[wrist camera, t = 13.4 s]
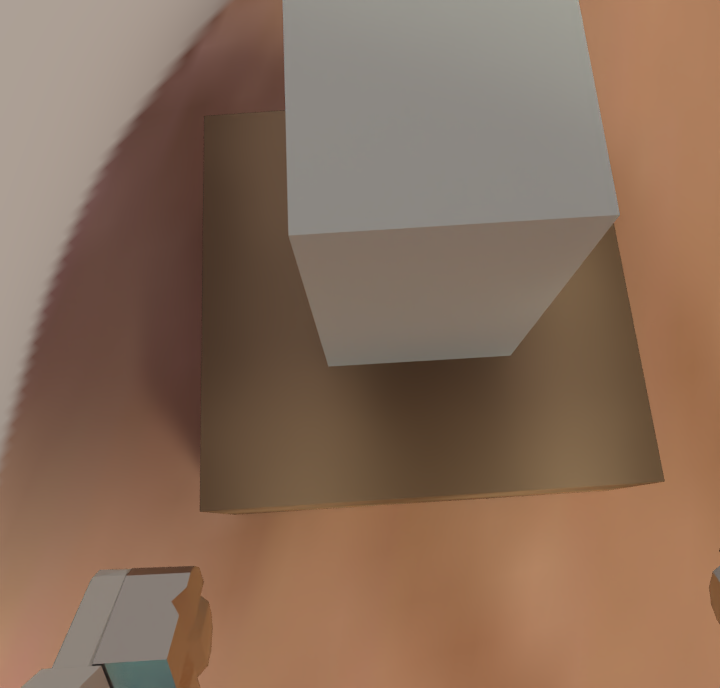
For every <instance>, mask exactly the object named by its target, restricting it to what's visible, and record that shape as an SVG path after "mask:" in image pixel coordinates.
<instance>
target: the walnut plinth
mask: <svg viewBox="0 0 720 688" xmlns="http://www.w3.org/2000/svg"><path fill="white" fill-rule="evenodd" d="M658 482H664V476H663V471H662V466H661V460H660V455H659V450H658V445H657V440H656V435H655V430H654V425H653V420H652V415H651V410H650V405H649V400H648V395H647V389H646V384H645V379H644V374H643V369H642V364H641V359H640V354H639V349H638V344H637V339H636V334H635V329H634V324H633V318H632V313H631V308H630V303H629V298H628V293H627V288H626V283H625V278H624V273H623V268H622V263H621V258H620V252H619V247H618V242H617V237H616V232H615V227H614V223H613V224H612V226H611V227H610V228H609V230H608V231H607V232H606V233H605V235H604V236H603V237H602V239H601V240H600V241H599V242H598V244H597V245H596V246H595V248H594V249H593V250H592V251H591V253H590V254H589V255H588V257H587V258H586V259H585V260H584V262H583V263H582V264H581V266H580V267H579V268H578V269H577V271H576V272H575V273H574V275H573V276H572V277H571V278H570V280H569V281H568V282H567V284H566V285H565V286H564V287H563V289H562V290H561V291H560V293H559V294H558V295H557V296H556V298H555V299H554V300H553V302H552V303H551V304H550V305H549V307H548V308H547V309H546V311H545V312H544V313H543V314H542V316H541V317H540V318H539V320H538V321H537V322H536V323H535V325H534V326H533V327H532V329H531V330H530V331H529V332H528V334H527V335H526V336H525V338H524V339H523V340H522V341H521V343H520V344H519V345H518V347H517V348H516V349H515V351H514V352H513V353H512V354H511V356H496V357H480V358H463V359H446V360H429V361H413V362H396V363H379V364H363V365H346V366H329V367H328V363H327V360H326V357H325V354H324V350H323V347H322V344H321V341H320V337H319V334H318V331H317V327H316V324H315V321H314V318H313V314H312V311H311V308H310V305H309V301H308V298H307V295H306V291H305V288H304V285H303V282H302V278H301V275H300V272H299V269H298V265H297V262H296V259H295V255H294V252H293V249H292V246H291V242H290V239H289V236H288V199H287V157H286V116H285V110H283V111H268V112H254V113H240V114H226V115H211V116H204V181H203V271H202V361H201V451H200V512H210V513H222V514H233V515H235V514H251V513H266V512H281V511H297V510H312V509H328V508H343V507H359V506H374V505H389V504H405V503H420V502H436V501H451V500H467V499H482V498H497V497H513V496H528V495H544V494H559V493H575V492H590V491H605V490H614V489H620V488H626V487H633V486H639V485H645V484H652V483H658Z"/></svg>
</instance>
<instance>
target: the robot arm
mask: <svg viewBox="0 0 720 688" xmlns="http://www.w3.org/2000/svg"><path fill="white" fill-rule="evenodd" d="M719 552H720V550H719ZM203 583H204V581H203V578H202V575H201V571H200V568H199V567H196V566H182V567H153V568H132V569H111V570H99V571H98V572H97V573H96V575H95V576H94V577H93V578H92V579H91V581H90V583H89V585H88V588H87V590H86V592H85V594H84V597H83V599H82V601H81V603H80V606H79V608H78V610H77V612H76V615H75V617H74V619H73V621H72V624H71V626H70V628H69V631H68V633H67V635H66V637H65V640H64V642H63V644H62V646H61V649H60V651H59V653H58V655H57V658H56V660H55V662H54V664H53V667H52V668H48V669H41V670H40V671H39V672H38V673H37V674H35V675H34V676H33V677H32V678H31V679H30V680H29V681H28V682H26V683H25V684H24V685H23V686H22V687H21V688H200V684H199V681H198V676H199V675H200V674H201V673H202V672H203V671H204V670H205V669H206V667H207V666H208V663H209V658H210V653H211V647H212V630H213V625H212V614H211V609H210V605H209V602H208V601H207V600H206V599H204V598H203V597H202V596H201V592H202V587H203ZM709 591H710V599H711V606H712V608H713V611H714V613H715V616H716V619H717V621H718V622H719V624H720V566H719V567H718V568H716V569H715V570H714V571H713V573H712V577H711V581H710V585H709Z"/></svg>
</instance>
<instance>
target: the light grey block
mask: <svg viewBox="0 0 720 688" xmlns="http://www.w3.org/2000/svg"><path fill="white" fill-rule="evenodd" d="M283 34H284V75H285V116H286V157H287V199H288V236H289V239H290V242H291V246H292V249H293V252H294V255H295V259H296V262H297V265H298V269H299V272H300V275H301V278H302V282H303V285H304V288H305V291H306V295H307V298H308V301H309V305H310V308H311V311H312V314H313V318H314V321H315V324H316V327H317V331H318V334H319V337H320V341H321V344H322V347H323V350H324V354H325V357H326V360H327V363H328V367H329V366H346V365H363V364H379V363H396V362H413V361H429V360H446V359H463V358H480V357H496V356H511V354H512V353H513V352H514V351H515V349H516V348H517V347H518V345H519V344H520V343H521V341H522V340H523V339H524V338H525V336H526V335H527V334H528V332H529V331H530V330H531V329H532V327H533V326H534V325H535V323H536V322H537V321H538V320H539V318H540V317H541V316H542V314H543V313H544V312H545V311H546V309H547V308H548V307H549V305H550V304H551V303H552V302H553V300H554V299H555V298H556V296H557V295H558V294H559V293H560V291H561V290H562V289H563V287H564V286H565V285H566V284H567V282H568V281H569V280H570V278H571V277H572V276H573V275H574V273H575V272H576V271H577V269H578V268H579V267H580V266H581V264H582V263H583V262H584V260H585V259H586V258H587V257H588V255H589V254H590V253H591V251H592V250H593V249H594V248H595V246H596V245H597V244H598V242H599V241H600V240H601V239H602V237H603V236H604V235H605V233H606V232H607V231H608V230H609V228H610V227H611V226H612V224H613V223H614V222H615V221H616V219H617V218H618V217H619V215H620V213H619V208H618V203H617V197H616V192H615V187H614V182H613V177H612V172H611V166H610V161H609V156H608V151H607V146H606V140H605V135H604V130H603V125H602V120H601V115H600V109H599V104H598V99H597V94H596V89H595V84H594V78H593V73H592V68H591V63H590V58H589V52H588V47H587V42H586V37H585V32H584V27H583V21H582V16H581V11H580V6H579V1H578V0H283Z"/></svg>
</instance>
